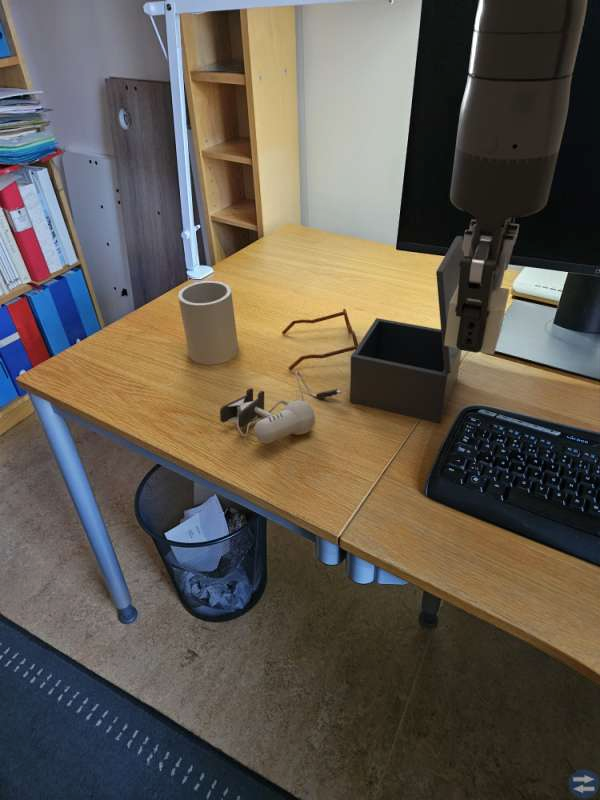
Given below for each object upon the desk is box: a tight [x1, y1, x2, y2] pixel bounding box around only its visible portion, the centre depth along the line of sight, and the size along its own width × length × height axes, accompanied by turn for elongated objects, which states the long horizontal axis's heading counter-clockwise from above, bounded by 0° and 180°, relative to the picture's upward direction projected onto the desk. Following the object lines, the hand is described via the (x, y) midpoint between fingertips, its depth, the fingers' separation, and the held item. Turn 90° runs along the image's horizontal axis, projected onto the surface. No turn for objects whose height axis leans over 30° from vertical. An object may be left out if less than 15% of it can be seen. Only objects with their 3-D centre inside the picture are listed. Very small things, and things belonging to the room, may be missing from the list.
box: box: [349, 317, 463, 424], centre depth 89 cm, size 15×13×9 cm
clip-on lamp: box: [219, 370, 343, 444], centre depth 85 cm, size 12×6×18 cm
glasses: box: [281, 308, 359, 371], centre depth 102 cm, size 13×13×5 cm
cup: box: [177, 280, 239, 366], centre depth 100 cm, size 9×9×12 cm
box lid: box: [435, 235, 464, 373], centre depth 80 cm, size 15×13×1 cm
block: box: [444, 285, 510, 355], centre depth 52 cm, size 4×4×4 cm
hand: (473, 334), depth 53 cm, fingers closed on block, 4 cm apart
